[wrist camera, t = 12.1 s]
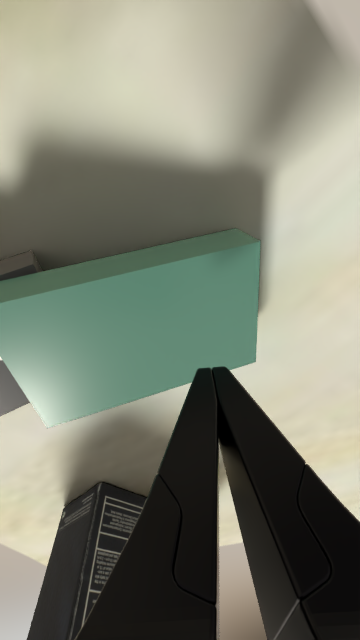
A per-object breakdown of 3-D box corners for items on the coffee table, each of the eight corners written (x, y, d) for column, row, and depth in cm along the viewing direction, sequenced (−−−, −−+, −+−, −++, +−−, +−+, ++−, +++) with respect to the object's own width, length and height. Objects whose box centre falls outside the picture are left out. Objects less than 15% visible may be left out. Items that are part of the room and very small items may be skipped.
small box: (59, 507, 24) (-4, 719, 16) (99, 478, 21) (51, 714, 13) (155, 536, 28) (148, 716, 20) (199, 514, 26) (213, 711, 17)
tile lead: (260, 241, 9) (-30, 310, 8) (255, 361, 12) (47, 428, 11) (236, 227, 11) (-13, 283, 9) (237, 339, 14) (50, 394, 12)
